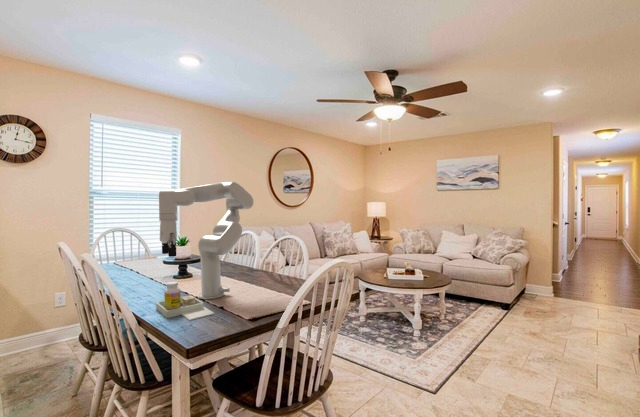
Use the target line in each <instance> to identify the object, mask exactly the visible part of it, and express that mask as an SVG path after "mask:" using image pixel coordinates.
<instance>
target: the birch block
mask: <svg viewBox="0 0 640 417" xmlns="http://www.w3.org/2000/svg"><path fill="white" fill-rule="evenodd" d="M187 296H188V297H184V296H182V297H183V298H182V306H181V308H182V307H186V306H190V305H195V298H196V297H195V296H193V295H191V296H189V295H187Z"/></svg>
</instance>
